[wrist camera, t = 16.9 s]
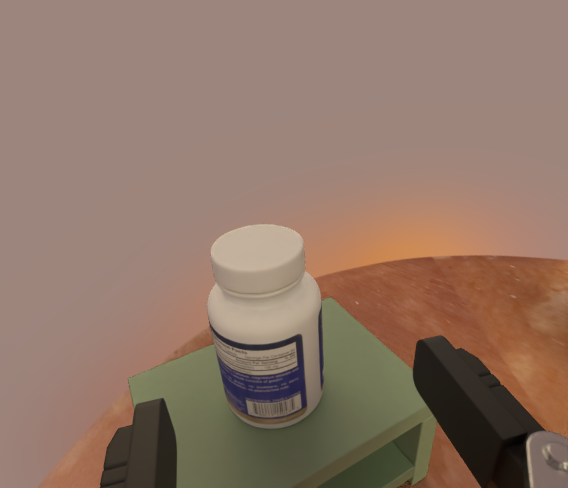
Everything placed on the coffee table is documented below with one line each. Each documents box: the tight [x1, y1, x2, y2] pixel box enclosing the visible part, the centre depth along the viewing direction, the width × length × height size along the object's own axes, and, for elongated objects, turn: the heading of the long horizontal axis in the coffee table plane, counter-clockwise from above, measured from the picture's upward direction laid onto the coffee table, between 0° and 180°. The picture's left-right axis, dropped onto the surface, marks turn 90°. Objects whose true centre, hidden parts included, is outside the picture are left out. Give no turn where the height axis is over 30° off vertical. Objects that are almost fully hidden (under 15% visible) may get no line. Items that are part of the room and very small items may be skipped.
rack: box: [128, 297, 437, 488], centre depth 22 cm, size 14×10×7 cm
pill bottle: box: [207, 224, 324, 429], centre depth 18 cm, size 5×5×9 cm
